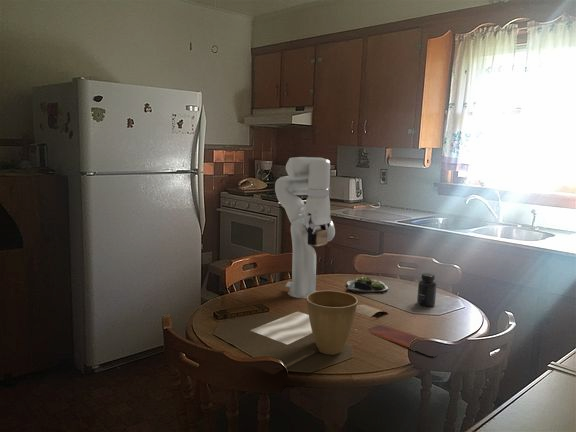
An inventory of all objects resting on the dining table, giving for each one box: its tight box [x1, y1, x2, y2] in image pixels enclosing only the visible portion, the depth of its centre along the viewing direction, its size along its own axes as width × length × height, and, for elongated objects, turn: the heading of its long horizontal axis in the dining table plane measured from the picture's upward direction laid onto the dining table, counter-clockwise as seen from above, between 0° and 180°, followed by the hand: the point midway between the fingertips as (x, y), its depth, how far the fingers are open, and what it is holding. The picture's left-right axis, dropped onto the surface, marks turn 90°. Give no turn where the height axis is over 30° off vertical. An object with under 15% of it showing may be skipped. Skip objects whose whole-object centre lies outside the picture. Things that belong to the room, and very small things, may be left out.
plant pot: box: [306, 290, 359, 356], centre depth 139 cm, size 15×15×16 cm
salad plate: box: [346, 276, 389, 294], centre depth 203 cm, size 19×18×5 cm
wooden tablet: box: [366, 324, 420, 349], centre depth 148 cm, size 27×10×2 cm, turn 40°
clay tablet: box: [355, 304, 389, 318], centre depth 170 cm, size 14×10×3 cm
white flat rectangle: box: [249, 311, 313, 345], centre depth 154 cm, size 16×24×1 cm, turn 139°
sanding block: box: [308, 229, 328, 247], centre depth 169 cm, size 4×6×5 cm, turn 139°
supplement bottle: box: [416, 272, 437, 308], centre depth 181 cm, size 7×7×12 cm
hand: (317, 242), depth 169 cm, fingers closed on sanding block, 6 cm apart
